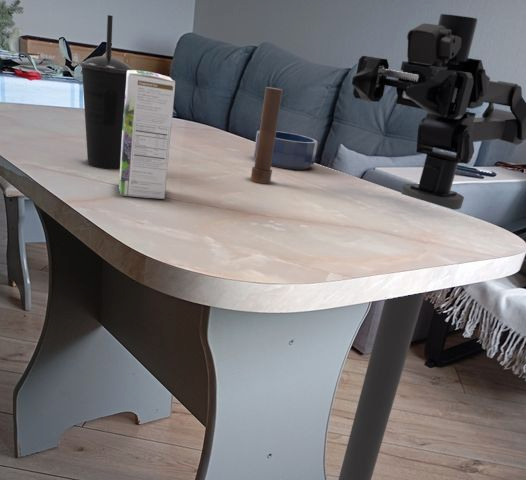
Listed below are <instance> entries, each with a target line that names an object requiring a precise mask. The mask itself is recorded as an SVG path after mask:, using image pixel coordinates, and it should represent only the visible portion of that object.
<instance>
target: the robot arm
mask: <svg viewBox="0 0 526 480" xmlns="http://www.w3.org/2000/svg"><path fill="white" fill-rule="evenodd" d="M477 25H478V18H476V17H470V16H463V15H455V14H445V13H440V14H439V19H438V24H434V23H432V24H431V23H421V24H419V25H417V26H416V27H414V28H412V29H410V30H408V32H407V35H406V40H407V54H406V55H407V56H406V57H407V61H406V60H402V61H401V66H400V70H395V69H390V68H389V67H390V65H389V62H388V58H383V57H376V56H372V55H371V56H370V55H362V56H360V58H359V59H358V63H357V68H356V69H357V70H356V74H355V75H353V76H352V79H351V85H352V86H353V92H352V95H353V96H354V98H355V99H358V100H363V101H368V102H375V103H376V102H380V101H381V99H382V98H383V96H384V92H385V87H386V86H388V87H392V88H395V90H396V95H397V99H396V104H397V105H402V106H406V107H410V108H414V109H415V108H416V109H420V110H424V111H425V112H427V113H426V114H425V116H424V117H423V118H422V119H421V120H420V122H419V124H418V128H417V138H416V153H417V154H424V155H426V156H425V158H424V159H425V160H424V162H423V168H422V170H421V171H422V172H421V175H420V179H419V183H418V184H419V185H411V187H410V188H412V189H415V190H419V191H422V192H426V193H429V194H433V195H436V196H439V197H446V196H452V195H456V194H457V193H458V192H457V191H454V190H452V186H453V182H454V179H455V175H456V172H457V168H458V165H459V164H466V165H468V164H470V163H471V160H472V159H473V156H474V154H475V146H474V145H475V144H474V143H478V142H479V143H480V142H487V141H497V142H500V143H501V142H502V143H506V144H510V145H515V146H519V145H521V144H522V143H523V142H524V141H526V100H525V99H524V98H523V93H522V92H523V91H522V86H521V85H519V84H518V83H514V82H507V81H503V80H498V81H493V80H491V77H490V76H489V75H487V74H486V73H487V72H486V69H484V65H483V61H482V59H478V58H472V57H471V58H470V52H471V49H472V45H473V40H474V36H475V32H476V29H477ZM484 103H485V104H487V103H488V106H487V107H486V108H485V110H484V111H483V113H482V115H481V116H479V117H476V115H477V114H476V112H470V111H467V109H471V110H472V109H476V108H479V107H482V106H483V104H484ZM495 105H500V106H505V107H509V110H510V111H507V110H502V109H497V108H494V107H495ZM437 149H439V150H437ZM445 151H447V152H445ZM453 153H455V154H453Z"/></svg>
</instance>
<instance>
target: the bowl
mask: <svg viewBox="0 0 526 480" xmlns="http://www.w3.org/2000/svg"><path fill="white" fill-rule="evenodd" d="M259 131H260V130H257V131H256V137H255V143H254V150H253V157H254V158H255V159H256V152H257V145H258V138H259ZM318 143H319V141H317V139H314V138H312V137H309V136H305V135H301V134H296V133H292V132H286V131H281V130H280V131H278V130H276V136H275V143H274V149H273V156H272V162H271V167H276V168H279V169H287V170H298V171H299V170H300V171H301V170H303V171H304V170H308V169H309V168H311V167H313V166H315V165H314V164H315V159H316V154H317V148H318Z"/></svg>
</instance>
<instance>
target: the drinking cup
mask: <svg viewBox="0 0 526 480" xmlns="http://www.w3.org/2000/svg"><path fill="white" fill-rule="evenodd" d="M113 20H114V18H113V15H110V14H108V15H107V20H106V21H107V23H106V45H105V47H106V48H105V55H102V56H94V57H90V58H87V59H85V60H84V61H80V62H79V67H81V76H82V77H81V78H82V89H83V90H82V91H83V104H84V105H83V107H84V118H85V119H84V122H85V124H84V125H85V140H86V153H87V154H86V156H87V165H90V166H92V167H95V168H101V169H109V170H110V169H120V161H121V143H122V126H123V114H124V102H125V90H126V75H127V70H135V69H133V68H132V67H131V65H128V64H127V63H126V62H124V61H123V60H121V59H118V58H116V57H112V44H113V43H112V42H113Z"/></svg>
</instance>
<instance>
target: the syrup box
mask: <svg viewBox="0 0 526 480" xmlns="http://www.w3.org/2000/svg"><path fill="white" fill-rule="evenodd" d="M175 89H176V80H173V79H172V78H171V77H170V76H168V75H163V74H160V73H157V72H152V71H147V70H139V69H137V70H136V69H134V70H127V75H126V90H125V102H124V114H123V126H122V143H121V161H120V168H119V182H118V186H119V188H118V189H119V194H120V195H121V196H124V197H136V198H145V199H159V200H165V199H166V186H167V179H168V166H169V155H170V144H171V134H172V125H173V116H174V115H173V113H174V105H175V104H174V102H175V92H176V91H175Z"/></svg>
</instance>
